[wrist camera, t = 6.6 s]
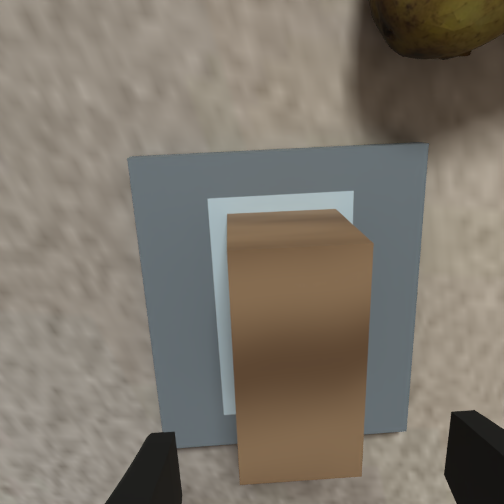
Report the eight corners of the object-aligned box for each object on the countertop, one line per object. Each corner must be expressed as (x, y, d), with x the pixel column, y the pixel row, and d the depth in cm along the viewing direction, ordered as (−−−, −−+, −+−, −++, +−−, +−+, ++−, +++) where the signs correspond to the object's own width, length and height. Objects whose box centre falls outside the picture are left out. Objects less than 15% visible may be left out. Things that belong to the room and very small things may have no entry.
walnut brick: (331, 393, 21) (361, 476, 16) (237, 399, 21) (239, 484, 16) (335, 208, 18) (373, 243, 13) (227, 213, 18) (226, 250, 13)
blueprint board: (400, 420, 23) (406, 431, 22) (167, 437, 22) (164, 449, 21) (420, 142, 18) (428, 143, 18) (131, 156, 18) (127, 158, 17)
